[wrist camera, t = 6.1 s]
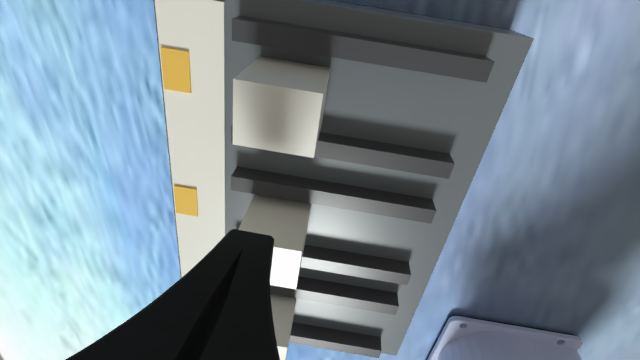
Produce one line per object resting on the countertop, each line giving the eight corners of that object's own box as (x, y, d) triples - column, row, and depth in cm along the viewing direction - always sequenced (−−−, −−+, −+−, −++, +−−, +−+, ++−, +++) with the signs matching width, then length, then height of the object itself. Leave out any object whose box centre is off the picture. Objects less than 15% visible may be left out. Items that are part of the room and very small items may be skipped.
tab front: (330, 68, 14) (323, 93, 11) (322, 121, 16) (313, 157, 13) (259, 56, 14) (233, 78, 11) (256, 110, 16) (232, 144, 13)
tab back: (297, 294, 22) (287, 347, 19) (293, 318, 23) (283, 372, 20) (249, 286, 22) (232, 338, 19) (248, 311, 23) (232, 363, 20)
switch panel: (510, 29, 15) (545, 42, 13) (393, 325, 26) (397, 369, 23) (178, -25, 16) (137, -24, 13) (198, 292, 26) (178, 332, 24)
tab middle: (311, 204, 18) (301, 251, 15) (305, 238, 19) (296, 289, 16) (254, 194, 18) (233, 240, 15) (252, 229, 19) (233, 278, 16)
